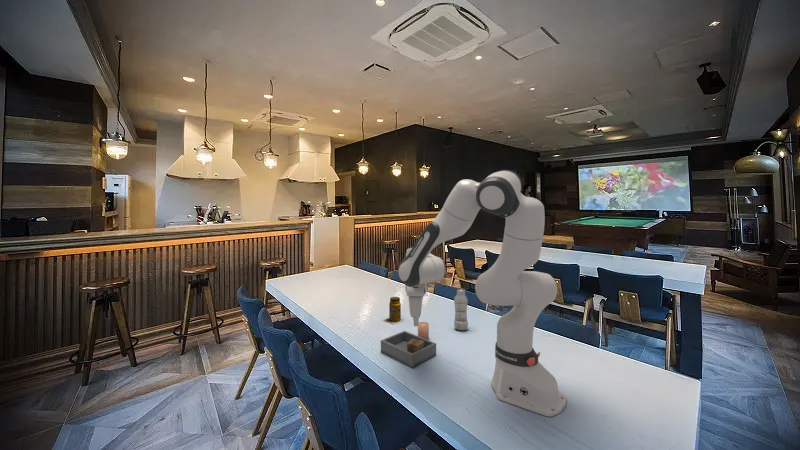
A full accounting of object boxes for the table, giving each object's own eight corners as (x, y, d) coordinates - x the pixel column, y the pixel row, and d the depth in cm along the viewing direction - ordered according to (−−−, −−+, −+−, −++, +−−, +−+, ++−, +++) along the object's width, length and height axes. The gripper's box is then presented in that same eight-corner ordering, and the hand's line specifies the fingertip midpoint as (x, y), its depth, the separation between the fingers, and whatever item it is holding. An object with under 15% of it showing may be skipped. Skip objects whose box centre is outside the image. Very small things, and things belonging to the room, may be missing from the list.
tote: (436, 355, 124) (436, 343, 124) (412, 368, 114) (412, 355, 114) (404, 341, 137) (404, 330, 137) (380, 352, 127) (380, 340, 127)
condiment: (404, 320, 163) (404, 298, 162) (392, 324, 157) (392, 301, 156) (394, 316, 168) (394, 295, 167) (383, 320, 162) (382, 298, 161)
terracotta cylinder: (430, 338, 140) (430, 323, 139) (423, 342, 136) (423, 327, 136) (422, 335, 143) (422, 320, 143) (415, 338, 140) (415, 323, 139)
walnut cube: (424, 353, 124) (424, 341, 124) (418, 358, 120) (418, 346, 119) (413, 350, 127) (413, 338, 126) (407, 355, 122) (407, 343, 122)
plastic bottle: (468, 332, 146) (468, 291, 145) (453, 331, 148) (453, 290, 146) (467, 327, 153) (468, 287, 151) (454, 326, 154) (454, 287, 153)
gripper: (410, 281, 132) (410, 313, 133) (406, 292, 112) (406, 330, 112) (424, 281, 132) (425, 313, 132) (423, 293, 111) (424, 330, 112)
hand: (416, 321), depth 122 cm, fingers open, 8 cm apart
